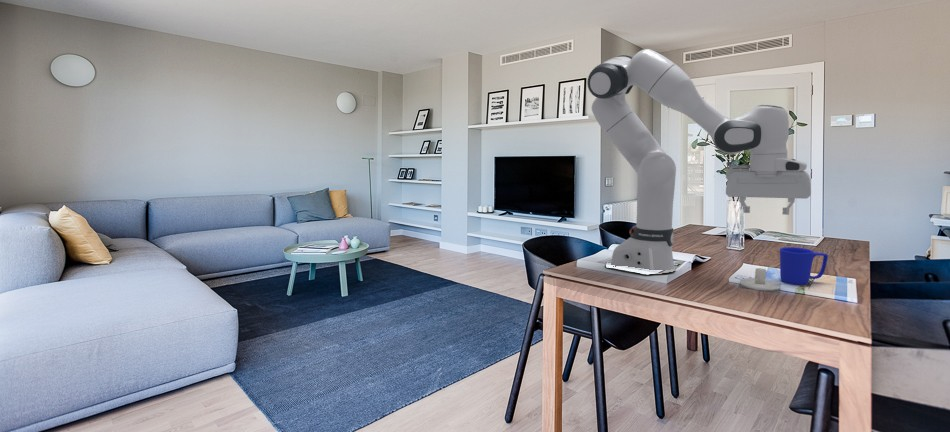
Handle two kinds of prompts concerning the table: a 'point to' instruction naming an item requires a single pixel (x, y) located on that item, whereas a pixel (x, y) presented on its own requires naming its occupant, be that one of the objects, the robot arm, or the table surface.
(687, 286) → the table surface
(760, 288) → the lid
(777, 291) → the mat
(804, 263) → the mug
